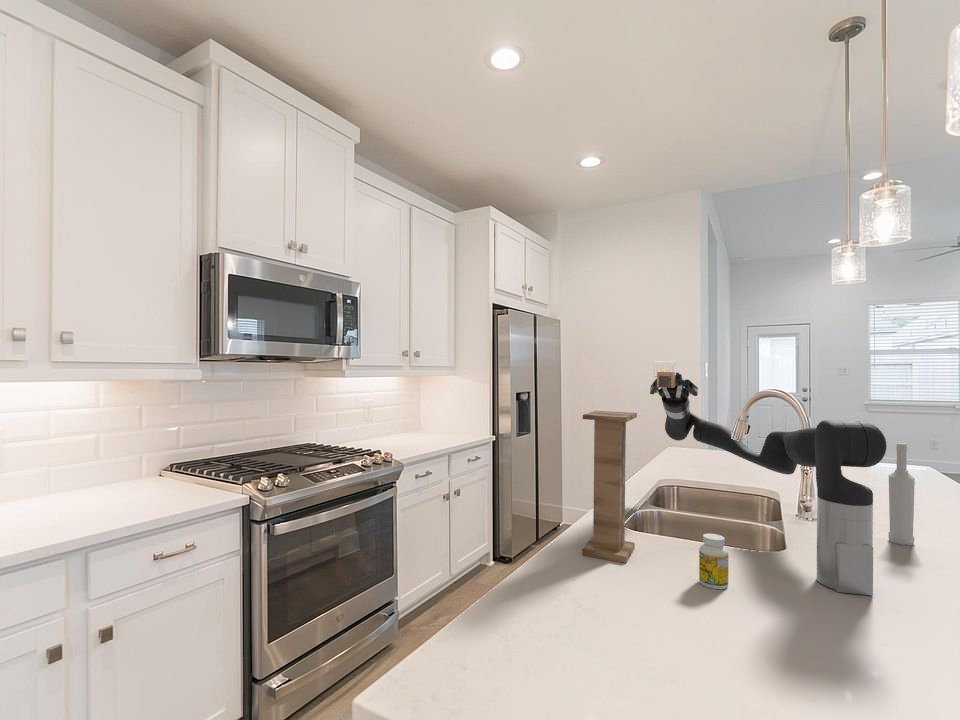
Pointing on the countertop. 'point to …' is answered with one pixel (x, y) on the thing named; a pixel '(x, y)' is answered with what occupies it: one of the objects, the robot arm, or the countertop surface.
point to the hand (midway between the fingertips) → (670, 375)
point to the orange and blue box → (666, 379)
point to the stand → (609, 487)
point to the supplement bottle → (713, 562)
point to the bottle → (901, 501)
